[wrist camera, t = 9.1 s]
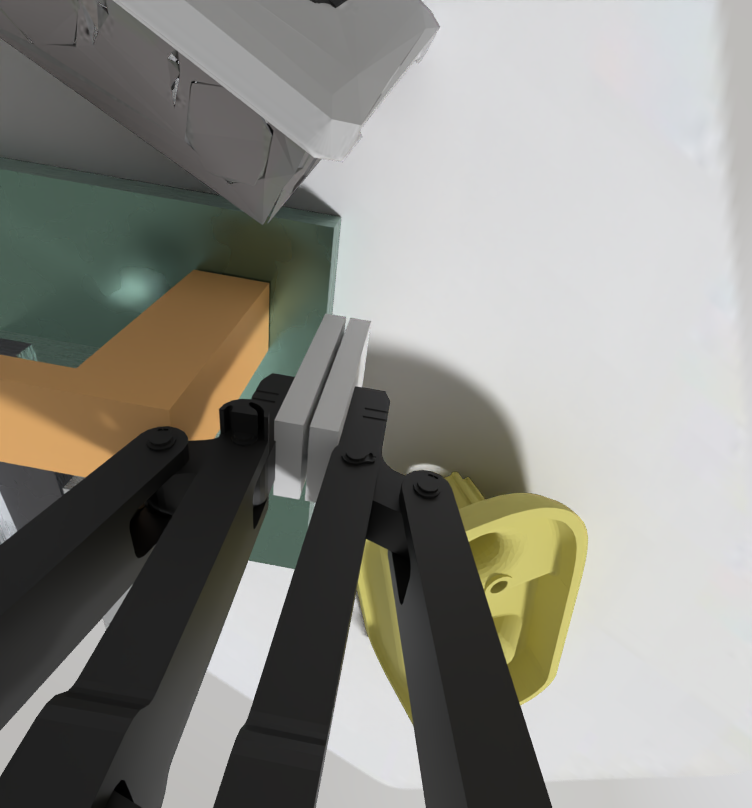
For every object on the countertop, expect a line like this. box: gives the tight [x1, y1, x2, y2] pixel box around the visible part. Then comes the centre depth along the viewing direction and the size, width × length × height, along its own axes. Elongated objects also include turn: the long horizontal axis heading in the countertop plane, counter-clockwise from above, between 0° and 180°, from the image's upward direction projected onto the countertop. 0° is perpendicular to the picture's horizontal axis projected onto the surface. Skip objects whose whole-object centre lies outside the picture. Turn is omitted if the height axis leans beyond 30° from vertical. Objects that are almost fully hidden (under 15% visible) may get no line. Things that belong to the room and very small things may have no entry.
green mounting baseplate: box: [0, 157, 341, 629], centre depth 22 cm, size 20×19×10 cm
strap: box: [0, 338, 73, 531], centre depth 20 cm, size 14×3×1 cm, turn 172°
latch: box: [0, 270, 269, 477], centre depth 17 cm, size 3×6×9 cm, turn 82°
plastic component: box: [357, 472, 588, 726], centre depth 28 cm, size 20×7×10 cm
